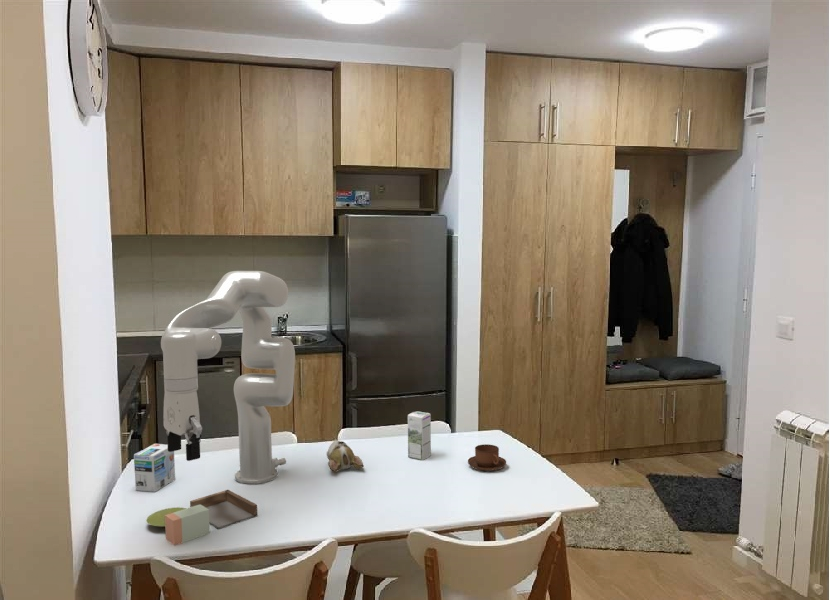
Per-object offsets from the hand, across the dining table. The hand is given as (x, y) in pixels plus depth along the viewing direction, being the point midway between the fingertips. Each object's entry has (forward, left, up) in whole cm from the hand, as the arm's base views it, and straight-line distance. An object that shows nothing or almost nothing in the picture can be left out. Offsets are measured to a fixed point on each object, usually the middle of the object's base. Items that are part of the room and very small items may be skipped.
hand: (183, 454), depth 157 cm
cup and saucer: (-88, +22, -21) cm, 93 cm away
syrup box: (-80, 0, -21) cm, 83 cm away
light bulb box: (-9, -39, -21) cm, 45 cm away
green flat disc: (0, -10, -21) cm, 23 cm away
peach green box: (0, 0, -20) cm, 20 cm away
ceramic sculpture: (-56, -11, -21) cm, 61 cm away
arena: (-13, -6, -20) cm, 25 cm away
